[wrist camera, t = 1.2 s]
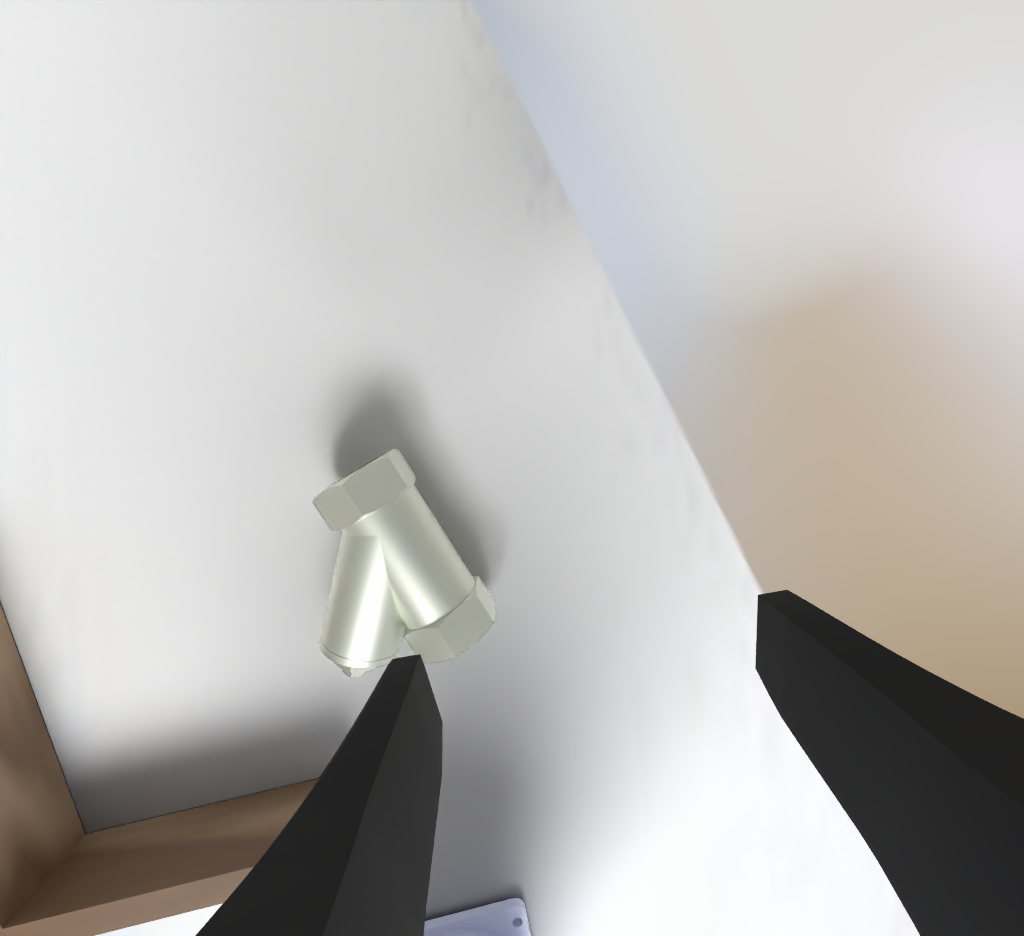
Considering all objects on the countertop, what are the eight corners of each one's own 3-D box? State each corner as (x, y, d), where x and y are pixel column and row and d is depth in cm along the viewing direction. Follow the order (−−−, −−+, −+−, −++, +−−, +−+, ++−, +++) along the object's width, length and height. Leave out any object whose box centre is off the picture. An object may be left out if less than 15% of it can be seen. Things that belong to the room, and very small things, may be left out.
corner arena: (346, 795, 23) (322, 877, 19) (65, 863, 22) (-21, 964, 18) (259, 471, 21) (210, 488, 17) (-60, 533, 20) (-191, 566, 16)
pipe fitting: (370, 663, 23) (495, 593, 22) (345, 721, 19) (495, 637, 19) (269, 520, 21) (401, 443, 21) (221, 551, 18) (380, 457, 17)
